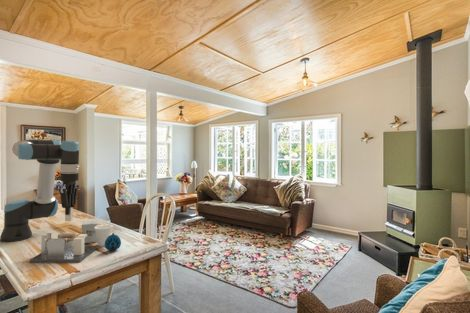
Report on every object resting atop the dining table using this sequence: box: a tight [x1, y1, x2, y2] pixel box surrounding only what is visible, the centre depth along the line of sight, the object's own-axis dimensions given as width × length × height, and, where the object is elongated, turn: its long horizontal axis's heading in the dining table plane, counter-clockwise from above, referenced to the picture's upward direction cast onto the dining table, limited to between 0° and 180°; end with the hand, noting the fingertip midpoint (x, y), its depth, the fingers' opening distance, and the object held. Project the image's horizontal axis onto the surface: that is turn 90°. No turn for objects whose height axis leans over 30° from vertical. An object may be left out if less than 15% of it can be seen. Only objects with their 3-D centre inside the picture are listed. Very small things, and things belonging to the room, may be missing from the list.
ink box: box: [81, 219, 99, 244], centre depth 158 cm, size 9×9×12 cm
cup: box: [94, 223, 113, 247], centre depth 152 cm, size 10×10×11 cm
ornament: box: [104, 232, 122, 252], centre depth 144 cm, size 8×5×10 cm, turn 114°
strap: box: [47, 237, 76, 242], centre depth 136 cm, size 18×2×1 cm, turn 94°
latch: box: [73, 233, 87, 255], centre depth 136 cm, size 4×6×9 cm, turn 4°
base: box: [29, 232, 98, 263], centre depth 136 cm, size 24×18×11 cm
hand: (68, 220), depth 125 cm, fingers closed
